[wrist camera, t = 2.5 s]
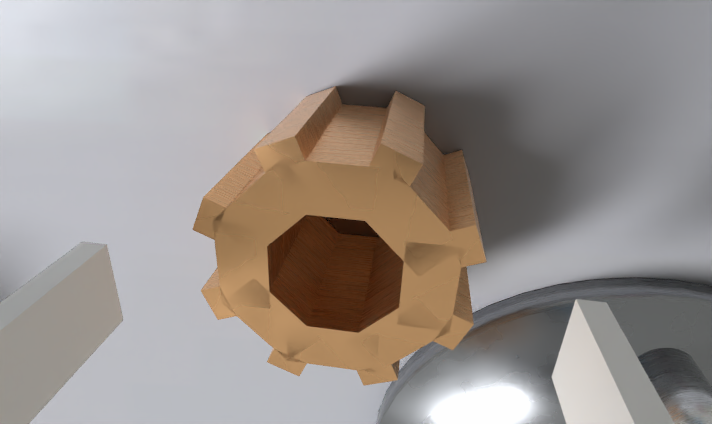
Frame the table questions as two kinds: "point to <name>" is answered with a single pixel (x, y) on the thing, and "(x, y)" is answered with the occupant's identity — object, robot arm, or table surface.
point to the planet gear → (345, 238)
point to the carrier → (541, 349)
